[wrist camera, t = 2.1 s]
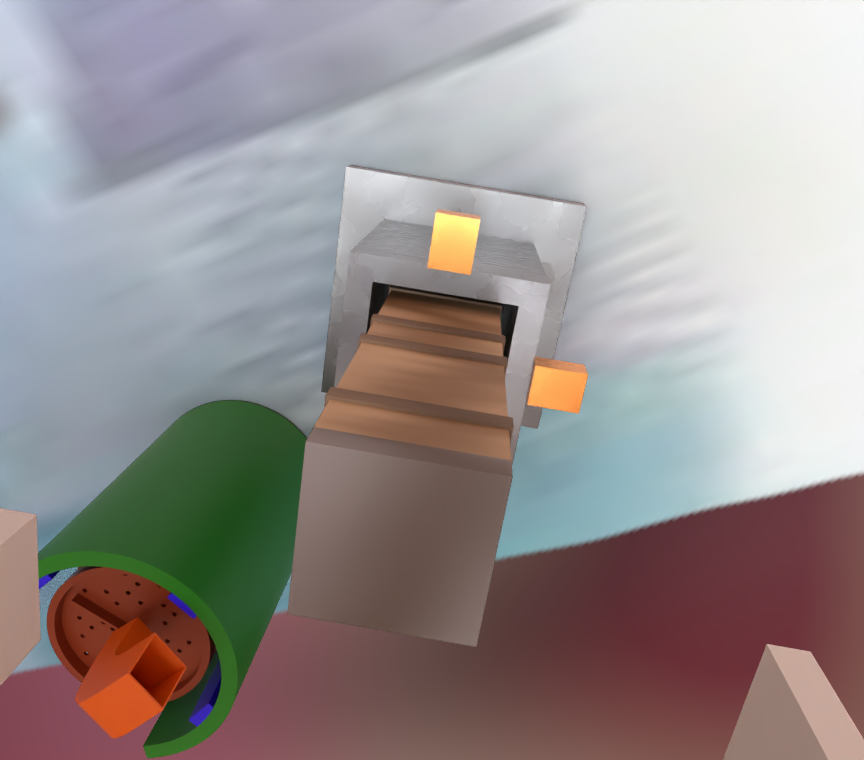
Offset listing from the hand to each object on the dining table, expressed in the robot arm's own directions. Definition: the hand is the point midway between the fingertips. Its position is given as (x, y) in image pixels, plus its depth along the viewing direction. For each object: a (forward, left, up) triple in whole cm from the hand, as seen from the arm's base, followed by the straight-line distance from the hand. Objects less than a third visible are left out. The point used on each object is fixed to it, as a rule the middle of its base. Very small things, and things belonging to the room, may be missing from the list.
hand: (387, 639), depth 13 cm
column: (0, 0, -26) cm, 26 cm away
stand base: (0, 0, -28) cm, 28 cm away
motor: (-10, -13, -28) cm, 33 cm away
